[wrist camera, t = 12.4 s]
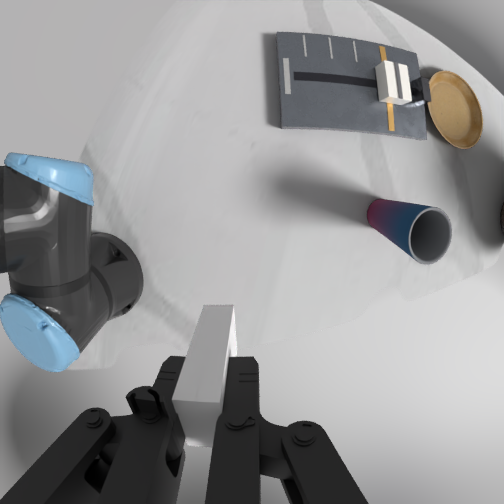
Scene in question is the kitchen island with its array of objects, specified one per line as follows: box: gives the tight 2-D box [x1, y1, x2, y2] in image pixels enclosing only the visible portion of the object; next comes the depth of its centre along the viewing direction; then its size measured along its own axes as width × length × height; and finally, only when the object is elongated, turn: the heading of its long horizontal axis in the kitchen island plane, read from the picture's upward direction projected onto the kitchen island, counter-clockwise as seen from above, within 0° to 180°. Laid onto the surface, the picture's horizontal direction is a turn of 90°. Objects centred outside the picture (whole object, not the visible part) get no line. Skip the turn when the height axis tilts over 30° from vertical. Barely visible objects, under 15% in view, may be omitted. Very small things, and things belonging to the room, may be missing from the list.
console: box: [276, 32, 432, 140], centre depth 33 cm, size 24×16×5 cm, turn 92°
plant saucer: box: [427, 71, 483, 149], centre depth 34 cm, size 15×15×3 cm
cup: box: [367, 199, 452, 264], centre depth 34 cm, size 7×7×15 cm
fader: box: [375, 60, 412, 105], centre depth 31 cm, size 4×6×4 cm, turn 2°
